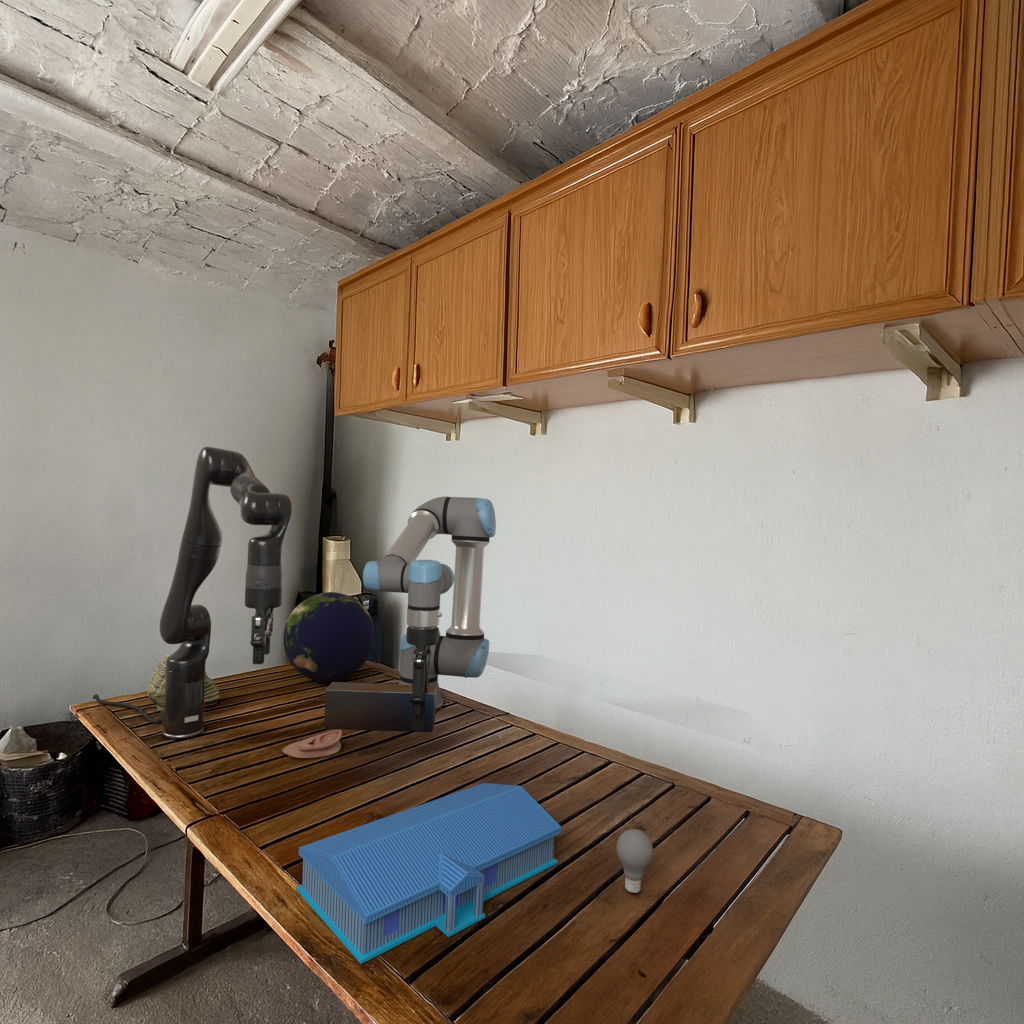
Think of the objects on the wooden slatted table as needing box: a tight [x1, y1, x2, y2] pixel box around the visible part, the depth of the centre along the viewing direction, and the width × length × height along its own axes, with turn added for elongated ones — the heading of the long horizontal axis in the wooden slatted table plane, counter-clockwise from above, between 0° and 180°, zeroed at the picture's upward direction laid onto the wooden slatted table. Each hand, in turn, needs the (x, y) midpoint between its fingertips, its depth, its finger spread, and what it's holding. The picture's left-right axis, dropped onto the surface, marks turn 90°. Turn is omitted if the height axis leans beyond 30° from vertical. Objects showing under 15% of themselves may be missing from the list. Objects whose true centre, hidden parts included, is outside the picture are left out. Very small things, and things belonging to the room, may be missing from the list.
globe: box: [282, 591, 375, 683], centre depth 216 cm, size 30×30×30 cm
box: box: [323, 681, 436, 734], centre depth 148 cm, size 25×6×9 cm, turn 92°
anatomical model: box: [281, 729, 343, 759], centre depth 157 cm, size 13×4×12 cm
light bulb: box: [615, 828, 654, 894], centre depth 106 cm, size 6×6×10 cm
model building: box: [296, 782, 562, 965], centre depth 106 cm, size 39×24×10 cm, turn 132°
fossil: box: [147, 654, 221, 712], centre depth 185 cm, size 9×18×15 cm, turn 132°
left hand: (261, 658), depth 138 cm, fingers open, 8 cm apart
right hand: (419, 723), depth 149 cm, fingers closed on box, 6 cm apart
